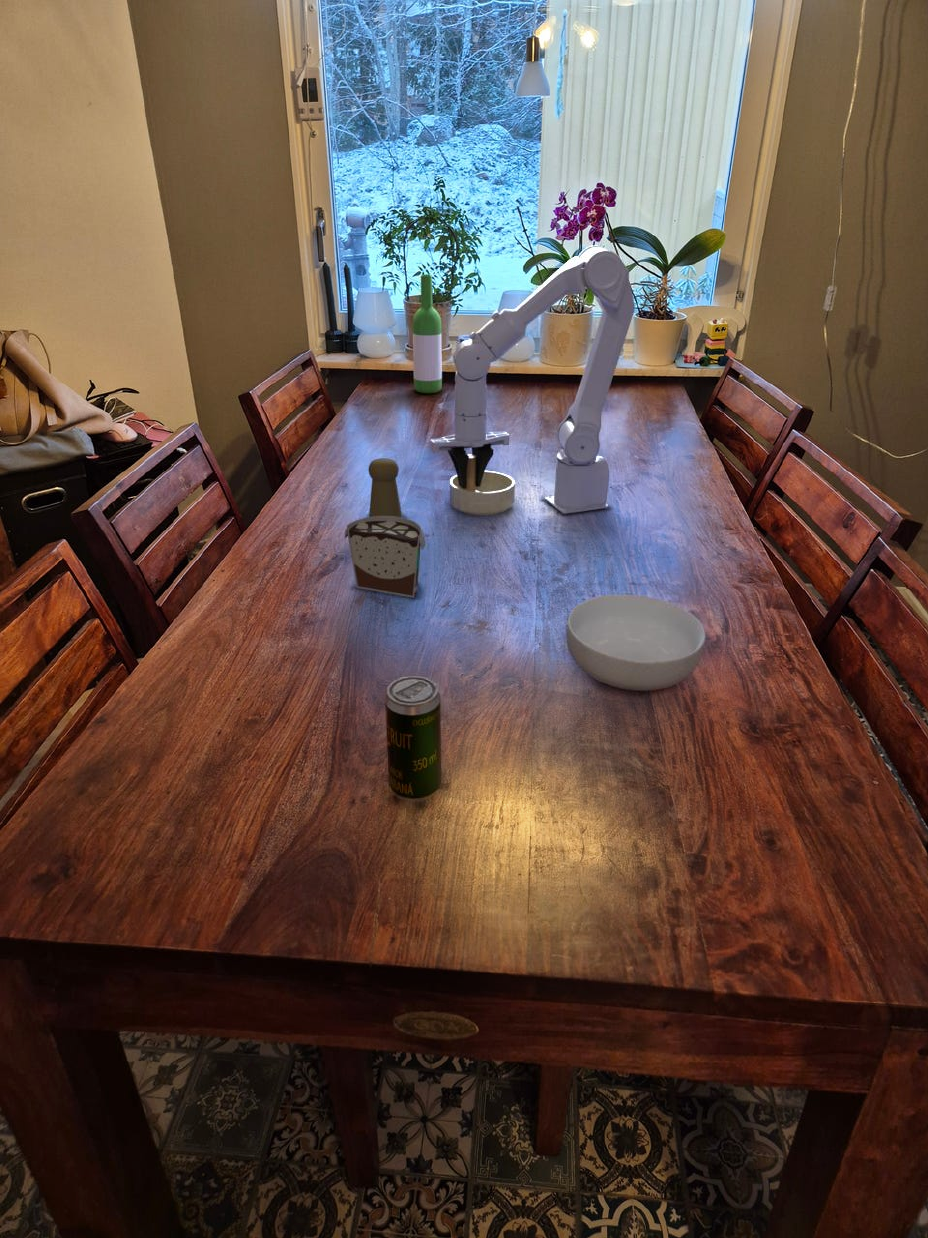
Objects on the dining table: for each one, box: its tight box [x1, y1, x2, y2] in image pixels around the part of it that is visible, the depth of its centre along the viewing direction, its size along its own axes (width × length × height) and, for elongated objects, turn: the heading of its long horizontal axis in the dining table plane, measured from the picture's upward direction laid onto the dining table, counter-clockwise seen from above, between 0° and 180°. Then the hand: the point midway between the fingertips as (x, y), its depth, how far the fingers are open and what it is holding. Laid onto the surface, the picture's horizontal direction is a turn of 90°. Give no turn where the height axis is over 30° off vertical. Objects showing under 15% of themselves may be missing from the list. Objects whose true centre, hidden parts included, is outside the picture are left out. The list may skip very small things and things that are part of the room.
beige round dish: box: [449, 470, 516, 516], centre depth 152 cm, size 12×12×4 cm
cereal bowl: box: [566, 593, 707, 692], centre depth 101 cm, size 17×17×7 cm
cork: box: [368, 457, 403, 518], centre depth 143 cm, size 6×6×11 cm
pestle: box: [464, 453, 479, 492], centre depth 150 cm, size 4×4×9 cm
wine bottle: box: [412, 273, 443, 394], centre depth 220 cm, size 8×8×30 cm
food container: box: [344, 516, 426, 599], centre depth 122 cm, size 12×6×10 cm, turn 71°
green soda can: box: [384, 675, 442, 803], centre depth 81 cm, size 5×5×12 cm
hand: (469, 485), depth 150 cm, fingers closed on pestle, 2 cm apart
